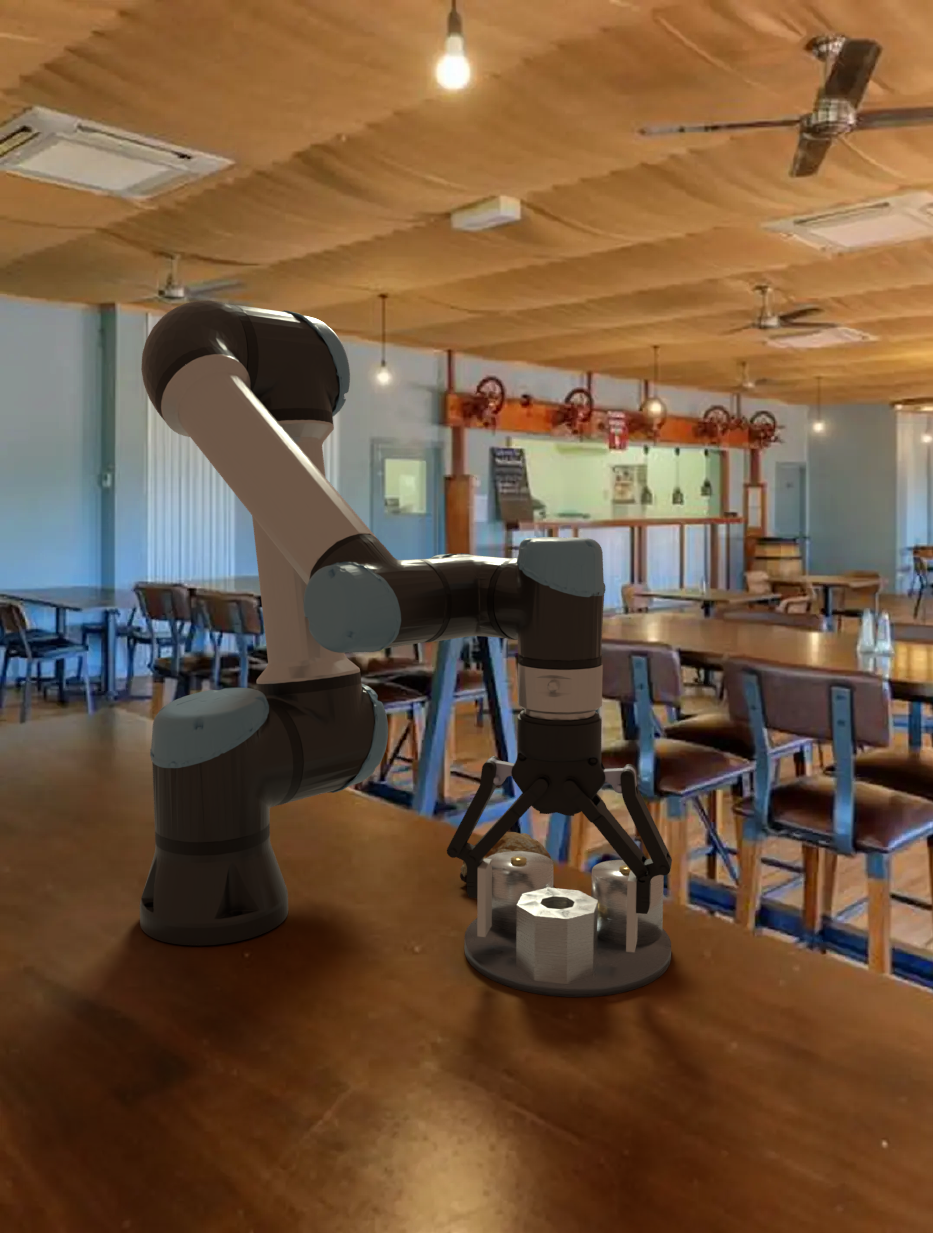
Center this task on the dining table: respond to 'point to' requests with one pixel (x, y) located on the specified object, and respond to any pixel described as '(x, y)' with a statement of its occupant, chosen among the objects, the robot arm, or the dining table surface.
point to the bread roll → (511, 848)
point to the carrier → (613, 962)
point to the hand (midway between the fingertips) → (556, 938)
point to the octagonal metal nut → (557, 935)
